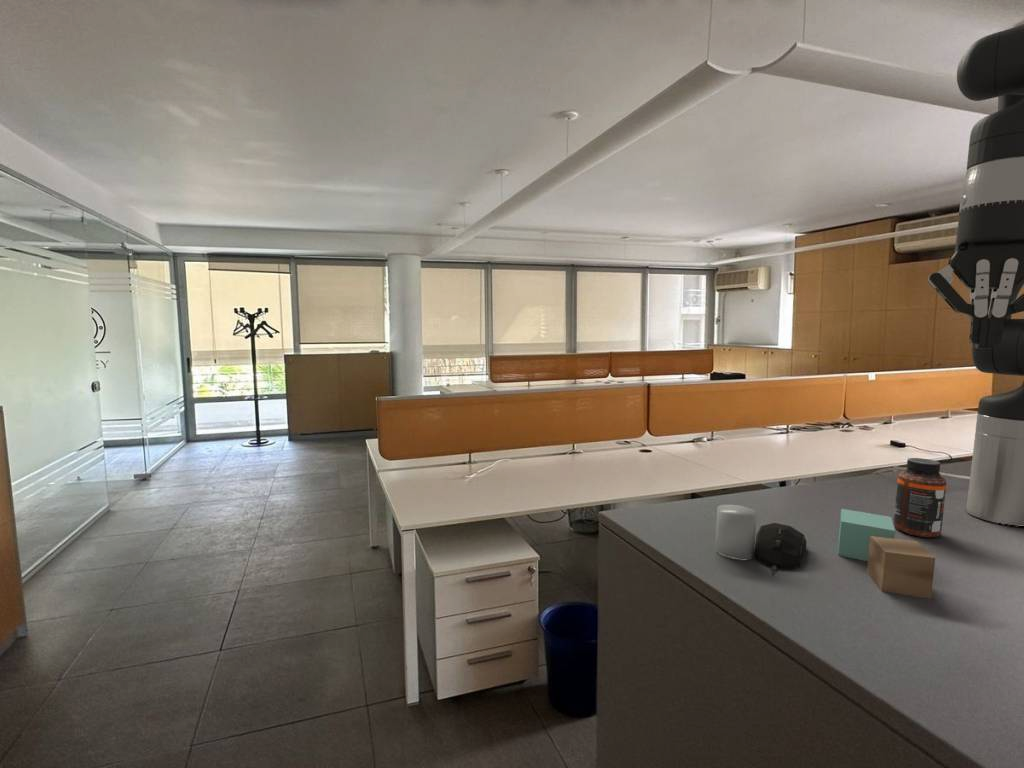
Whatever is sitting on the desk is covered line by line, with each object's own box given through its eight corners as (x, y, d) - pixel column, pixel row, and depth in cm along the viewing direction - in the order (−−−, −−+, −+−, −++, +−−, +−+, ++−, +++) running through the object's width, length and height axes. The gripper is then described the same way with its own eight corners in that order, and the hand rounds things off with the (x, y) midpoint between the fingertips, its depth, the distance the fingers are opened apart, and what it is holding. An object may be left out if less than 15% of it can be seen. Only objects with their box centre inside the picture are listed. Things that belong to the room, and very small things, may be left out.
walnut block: (866, 573, 68) (870, 536, 67) (912, 579, 66) (916, 541, 66) (881, 591, 63) (885, 551, 63) (930, 598, 62) (935, 557, 61)
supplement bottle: (949, 541, 79) (958, 467, 77) (904, 537, 80) (912, 464, 78) (927, 526, 84) (934, 457, 83) (885, 523, 86) (892, 454, 84)
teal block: (838, 541, 78) (841, 508, 78) (887, 550, 75) (891, 517, 74) (838, 556, 73) (841, 521, 72) (891, 567, 70) (895, 530, 69)
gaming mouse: (744, 573, 68) (746, 543, 68) (759, 535, 80) (761, 510, 80) (800, 586, 65) (802, 555, 64) (806, 544, 77) (808, 518, 77)
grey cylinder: (718, 542, 77) (721, 502, 76) (756, 550, 74) (759, 509, 74) (711, 554, 73) (713, 512, 72) (750, 563, 70) (753, 519, 69)
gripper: (1066, 205, 63) (1047, 349, 65) (927, 215, 70) (913, 345, 72) (1091, 191, 57) (1069, 351, 59) (935, 204, 64) (920, 347, 66)
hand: (983, 348), depth 65 cm, fingers closed
